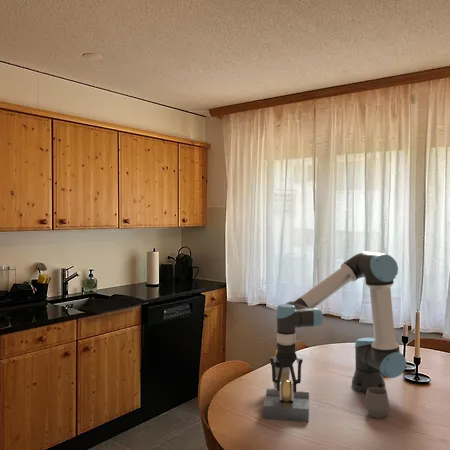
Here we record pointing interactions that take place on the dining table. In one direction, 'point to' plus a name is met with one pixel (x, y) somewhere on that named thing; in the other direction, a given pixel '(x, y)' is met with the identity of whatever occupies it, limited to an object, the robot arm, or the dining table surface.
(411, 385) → the dining table surface
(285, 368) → the coffee cup
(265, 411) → the block
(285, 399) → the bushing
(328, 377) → the dining table surface
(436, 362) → the dining table surface
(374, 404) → the cup
